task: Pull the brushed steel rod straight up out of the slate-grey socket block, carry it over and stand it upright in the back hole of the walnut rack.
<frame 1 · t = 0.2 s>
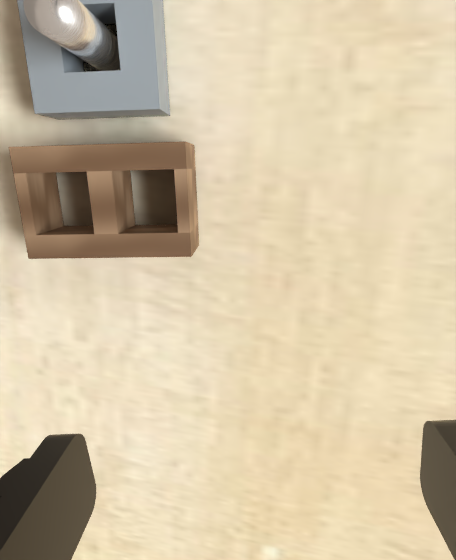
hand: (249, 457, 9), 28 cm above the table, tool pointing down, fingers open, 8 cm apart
steel rod: (83, 34, 28), in the socket block
socket block: (107, 53, 32), on the table
walnut rack: (122, 198, 36), on the table
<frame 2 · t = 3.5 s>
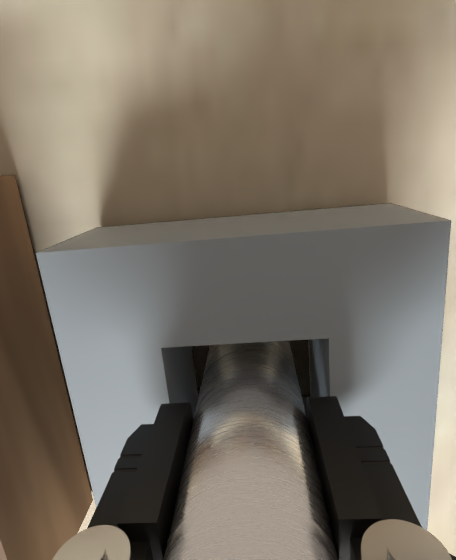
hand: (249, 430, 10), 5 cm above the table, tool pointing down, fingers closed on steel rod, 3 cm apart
steel rod: (250, 439, 10), in the socket block, touching gripper
socket block: (249, 348, 14), on the table
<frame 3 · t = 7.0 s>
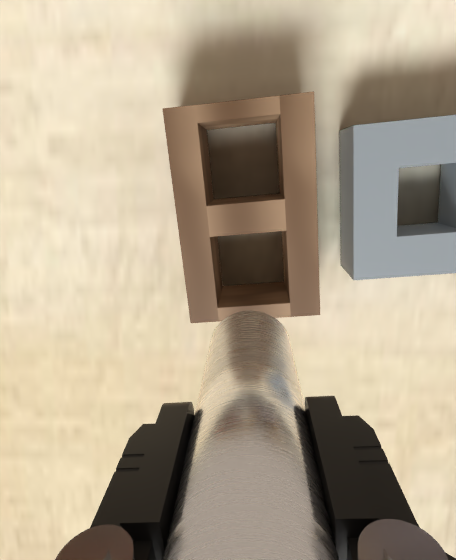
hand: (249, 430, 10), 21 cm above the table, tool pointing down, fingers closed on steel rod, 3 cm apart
steel rod: (250, 438, 10), point 22 cm above the table, touching gripper
socket block: (408, 195, 28), on the table
walnut rack: (247, 209, 29), on the table
when the fingers open (7 cm above the table, at t = 10.0 s): steel rod drops 2 cm, resting in walnut rack.
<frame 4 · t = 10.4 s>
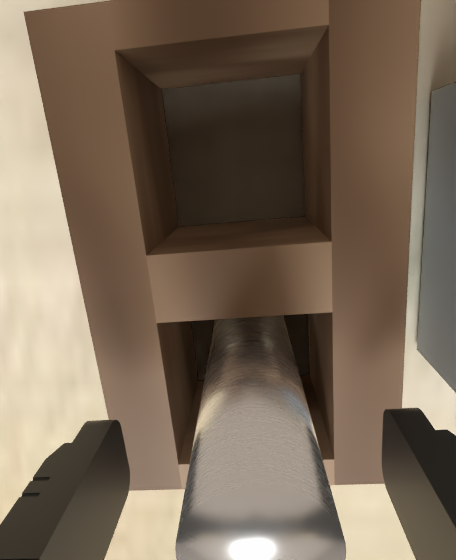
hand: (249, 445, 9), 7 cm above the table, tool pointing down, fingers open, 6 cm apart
steel rod: (252, 393, 12), in the walnut rack
walnut rack: (243, 246, 15), on the table
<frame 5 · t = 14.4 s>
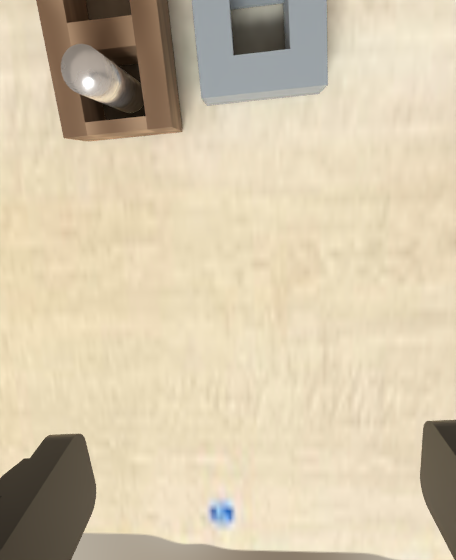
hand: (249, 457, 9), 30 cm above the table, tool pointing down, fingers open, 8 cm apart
steel rod: (109, 84, 30), in the walnut rack
socket block: (258, 36, 33), on the table
walnut rack: (122, 52, 34), on the table
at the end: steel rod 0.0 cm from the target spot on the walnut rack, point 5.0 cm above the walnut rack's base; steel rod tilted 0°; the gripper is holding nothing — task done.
